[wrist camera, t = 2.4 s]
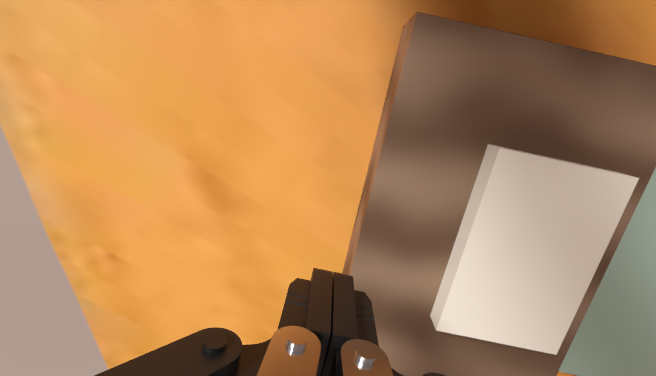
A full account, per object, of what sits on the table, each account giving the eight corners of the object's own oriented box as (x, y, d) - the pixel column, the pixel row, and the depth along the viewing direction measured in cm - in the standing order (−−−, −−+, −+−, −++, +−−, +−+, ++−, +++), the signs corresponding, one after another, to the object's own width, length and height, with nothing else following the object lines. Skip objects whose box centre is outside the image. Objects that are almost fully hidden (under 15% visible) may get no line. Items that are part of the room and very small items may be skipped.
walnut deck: (403, 26, 22) (417, 11, 18) (637, 79, 23) (699, 75, 19) (327, 332, 28) (325, 369, 25) (512, 369, 29) (538, 411, 25)
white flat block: (487, 143, 20) (499, 147, 19) (617, 172, 20) (639, 178, 19) (430, 315, 23) (436, 330, 22) (543, 338, 23) (556, 354, 22)
